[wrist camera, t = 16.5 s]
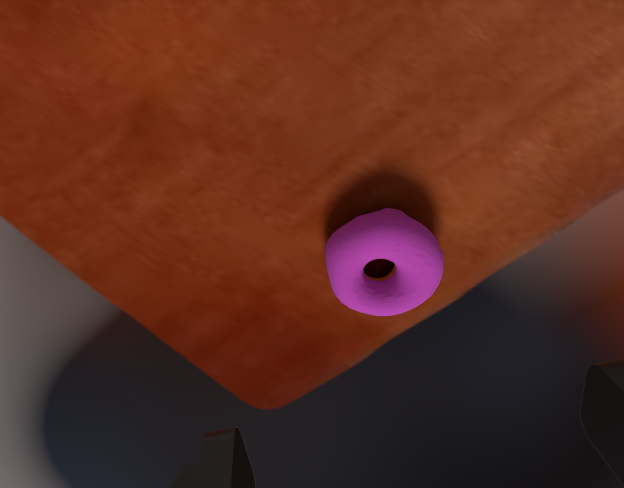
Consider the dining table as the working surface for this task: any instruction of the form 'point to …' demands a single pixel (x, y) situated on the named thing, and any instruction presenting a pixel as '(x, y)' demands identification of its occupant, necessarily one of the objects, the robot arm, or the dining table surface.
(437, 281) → the donut
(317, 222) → the dining table surface
